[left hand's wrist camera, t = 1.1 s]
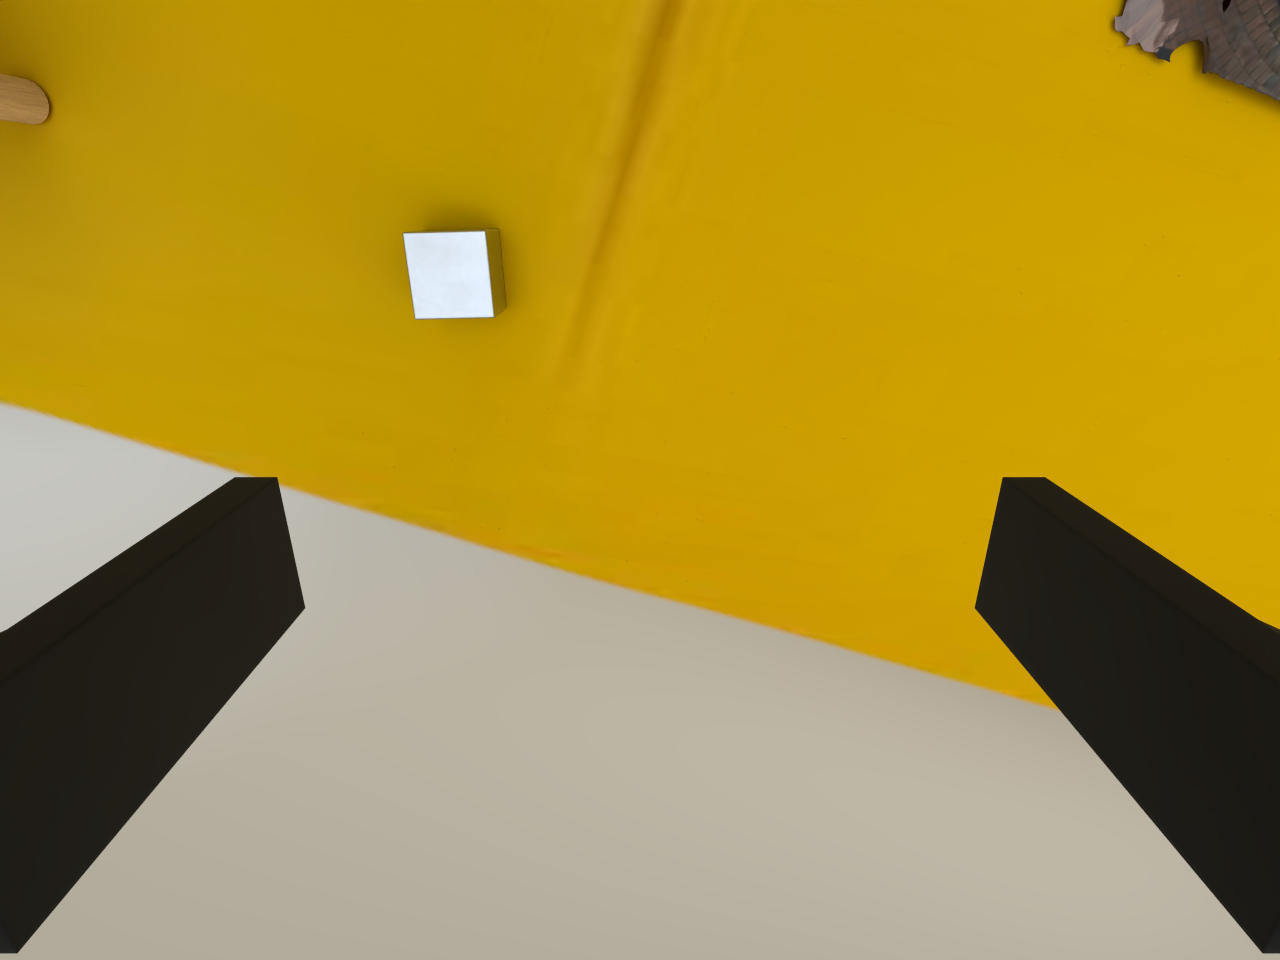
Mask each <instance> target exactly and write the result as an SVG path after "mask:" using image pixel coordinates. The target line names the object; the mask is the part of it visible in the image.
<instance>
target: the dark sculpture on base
mask: <svg viewBox="0 0 1280 960" xmlns="http://www.w3.org/2000/svg"><path fill="white" fill-rule="evenodd" d="M1222 2H1223V0H1127V2H1126V5H1125V9H1124V12H1123V15H1122V16H1120V17H1115V29H1116V30H1117V32H1119V31H1122V32H1123V33H1124V34H1125V35H1126V36H1128V37H1129V38H1130V39H1129V41H1128V43H1127V45H1131V44H1137V43H1139V42H1140V44H1141V46H1142V48H1143V50H1144V51H1147V52H1155V54H1156V56H1157V58H1159V59H1164V60H1166V61H1168V62H1170V55H1171V53H1172V52H1173V51H1174V50H1175V49H1176V48H1178V47H1179V46H1181V45H1182V44H1184V43H1187V42H1189V41H1192V40H1200V41H1201V42H1202V43H1203V46H1204V62H1203V70H1202V73H1206V72H1207V71H1208V70H1209V69H1210V74H1211V73H1212V72H1214V73H1218V74H1219V76H1220V77H1222V78H1224V79H1228V80H1229V81H1234V83H1236V84H1243V85H1244V86H1246V87H1248V88H1250V89H1251V88H1252V87H1253V88H1255V90H1256V91H1257V92H1258V91H1259V92H1261V93H1263V94H1268V95H1269V96H1271V97H1273V98H1274V99H1277V100H1279V101H1280V0H1231V2H1230V5H1229V7H1228V8H1227V10H1226V11H1225V12H1223V8H1222ZM1127 45H1126V46H1127Z"/></svg>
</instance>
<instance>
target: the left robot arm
mask: <svg viewBox="0 0 1280 960" xmlns="http://www.w3.org/2000/svg"><path fill="white" fill-rule="evenodd" d="M304 609H305V605H304V600H303V595H302V591H301V586H300V581H299V577H298V572H297V567H296V563H295V558H294V553H293V549H292V544H291V539H290V535H289V530H288V525H287V521H286V516H285V511H284V507H283V502H282V497H281V493H280V488H279V483H278V479H277V477H235V478H233V479H232V480H230V481H229V482H227V483H226V484H224V485H223V486H221V487H220V488H218V489H217V490H215V491H214V492H212V493H211V494H209V495H208V496H206V497H205V498H203V499H202V500H200V501H199V502H197V503H196V504H194V505H193V506H191V507H190V508H188V509H187V510H185V511H184V512H182V513H181V514H179V515H178V516H176V517H175V518H173V519H172V520H170V521H169V522H167V523H166V524H164V525H163V526H161V527H160V528H158V529H157V530H155V531H154V532H152V533H151V534H149V535H148V536H146V537H145V538H143V539H142V540H140V541H139V542H137V543H136V544H134V545H133V546H131V547H130V548H128V549H127V550H125V551H124V552H122V553H121V554H119V555H118V556H116V557H115V558H113V559H112V560H110V561H109V562H107V563H106V564H104V565H103V566H101V567H100V568H98V569H97V570H95V571H94V572H92V573H91V574H89V575H88V576H86V577H85V578H83V579H82V580H80V581H79V582H77V583H76V584H74V585H73V586H72V587H70V588H69V589H67V590H65V591H64V592H63V593H61V594H60V595H58V596H57V597H55V598H54V599H52V600H51V601H49V602H48V603H46V604H45V605H43V606H42V607H40V608H39V609H37V610H36V611H34V612H33V613H31V614H30V615H28V616H27V617H25V618H24V619H22V620H21V621H19V622H18V623H16V624H15V625H13V626H12V627H10V628H9V629H7V630H5V631H3V632H0V953H18V952H19V951H20V949H21V948H22V947H23V946H24V945H25V943H26V942H27V941H28V940H29V939H30V937H31V936H32V935H33V934H34V933H35V931H36V930H37V929H38V928H39V927H40V925H41V924H42V923H43V922H44V921H45V919H46V918H47V917H48V916H49V915H50V913H51V912H52V911H53V910H54V909H55V908H56V906H57V905H58V904H59V903H60V902H61V900H62V899H63V898H64V897H65V896H66V894H67V893H68V892H69V891H70V890H71V888H72V887H73V886H74V885H75V884H76V882H77V881H78V880H79V879H80V877H81V876H82V875H83V874H84V873H85V871H86V870H87V869H88V868H89V867H90V866H91V864H92V863H93V862H94V861H95V859H96V858H97V857H98V856H99V855H100V854H101V852H102V851H103V850H104V849H105V848H106V846H107V845H108V844H109V843H110V842H111V840H112V839H113V838H114V837H115V836H116V834H117V833H118V832H119V831H120V830H121V828H122V827H123V826H124V825H125V824H126V822H127V821H128V820H129V819H130V817H131V816H132V815H133V814H134V813H135V812H136V810H137V809H138V808H139V807H140V806H141V804H142V803H143V802H144V801H145V800H146V798H147V797H148V796H149V795H150V793H151V792H152V791H153V790H154V789H155V788H156V786H157V785H158V784H159V783H160V782H161V780H162V779H163V778H164V777H165V776H166V774H167V773H168V772H169V771H170V770H171V768H172V767H173V766H174V765H175V764H176V762H177V761H178V760H179V759H180V758H181V756H182V755H183V754H184V753H185V752H186V750H187V749H188V748H189V747H190V746H191V744H192V743H193V742H194V741H195V740H196V738H197V737H198V736H199V735H200V734H201V732H202V731H203V730H204V729H205V728H206V726H207V725H208V724H209V723H210V722H211V720H212V719H213V718H214V717H215V716H216V714H217V713H218V712H219V711H220V710H221V708H222V707H223V706H224V705H225V704H226V702H227V701H228V700H229V699H230V698H231V696H232V695H233V694H234V693H235V692H236V690H237V689H238V688H239V687H240V686H241V684H242V683H243V682H244V681H245V680H246V678H247V677H248V676H249V675H250V674H251V672H252V671H253V670H254V669H255V668H256V666H257V665H258V664H259V663H260V662H261V660H262V659H263V658H264V657H265V656H266V654H267V653H268V652H269V651H270V650H271V648H272V647H273V646H274V645H275V644H276V642H277V641H278V640H279V639H280V638H281V636H282V635H283V634H284V633H285V632H286V630H287V629H288V628H289V627H290V626H291V624H292V623H293V622H294V621H295V620H296V618H297V617H298V616H299V615H300V614H301V612H302V611H303V610H304ZM975 609H976V610H977V611H978V612H979V614H980V615H981V616H982V617H983V618H984V620H985V621H986V622H987V623H988V624H989V626H990V627H991V628H992V629H993V630H994V632H995V633H996V634H997V635H998V636H999V638H1000V639H1001V640H1002V641H1003V642H1004V644H1005V645H1006V646H1007V647H1008V648H1009V650H1010V651H1011V652H1012V653H1013V654H1014V656H1015V657H1016V658H1017V659H1018V660H1019V662H1020V663H1021V664H1022V665H1023V666H1024V668H1025V669H1026V670H1027V671H1028V672H1029V674H1030V675H1031V676H1032V677H1033V678H1034V680H1035V681H1036V682H1037V683H1038V684H1039V686H1040V687H1041V688H1042V689H1043V690H1044V692H1045V693H1046V694H1047V695H1048V696H1049V698H1050V699H1051V700H1052V701H1053V702H1054V704H1055V705H1056V706H1057V707H1058V708H1059V710H1060V711H1061V712H1062V713H1063V714H1064V716H1065V717H1066V718H1067V719H1068V720H1069V722H1070V723H1071V724H1072V725H1073V726H1074V728H1075V729H1076V730H1077V731H1078V732H1079V734H1080V735H1081V736H1082V737H1083V738H1084V740H1085V741H1086V742H1087V743H1088V744H1089V746H1090V747H1091V748H1092V749H1093V750H1094V752H1095V753H1096V754H1097V755H1098V756H1099V757H1100V759H1101V760H1102V761H1103V762H1104V764H1105V765H1106V766H1107V767H1108V768H1109V770H1110V771H1111V772H1112V773H1113V774H1114V776H1115V777H1116V778H1117V779H1118V780H1119V782H1120V783H1121V784H1122V785H1123V786H1124V788H1125V789H1126V790H1127V791H1128V792H1129V794H1130V795H1131V796H1132V797H1133V798H1134V800H1135V801H1136V802H1137V803H1138V804H1139V806H1140V807H1141V808H1142V809H1143V810H1144V812H1145V813H1146V814H1147V815H1148V816H1149V818H1150V819H1151V820H1152V821H1153V822H1154V824H1155V825H1156V826H1157V827H1158V828H1159V830H1160V831H1161V832H1162V833H1163V834H1164V836H1165V837H1166V838H1167V839H1168V840H1169V842H1170V843H1171V844H1172V845H1173V846H1174V848H1175V849H1176V850H1177V851H1178V852H1179V854H1180V855H1181V856H1182V857H1183V858H1184V859H1185V861H1186V862H1187V863H1188V864H1189V866H1190V867H1191V868H1192V869H1193V870H1194V872H1195V873H1196V874H1197V875H1198V876H1199V878H1200V879H1201V880H1202V881H1203V882H1204V884H1205V885H1206V886H1207V887H1208V888H1209V890H1210V891H1211V892H1212V893H1213V894H1214V895H1215V897H1216V898H1217V899H1218V900H1219V902H1220V903H1221V904H1222V905H1223V906H1224V907H1225V909H1226V910H1227V911H1228V912H1229V914H1230V915H1231V916H1232V917H1233V918H1234V919H1235V921H1236V922H1237V923H1238V924H1239V925H1240V927H1241V928H1242V929H1243V930H1244V931H1245V933H1246V934H1247V935H1248V936H1249V937H1250V939H1251V940H1252V941H1253V942H1254V943H1255V945H1256V946H1257V947H1258V948H1259V949H1260V951H1261V952H1262V953H1280V629H1278V628H1275V627H1273V626H1271V625H1269V624H1267V623H1264V622H1262V621H1260V620H1258V619H1256V618H1255V617H1253V616H1252V615H1250V614H1249V613H1247V612H1246V611H1244V610H1243V609H1241V608H1240V607H1238V606H1237V605H1235V604H1234V603H1232V602H1231V601H1229V600H1228V599H1226V598H1225V597H1223V596H1222V595H1220V594H1219V593H1218V592H1216V591H1215V590H1213V589H1212V588H1210V587H1209V586H1207V585H1206V584H1204V583H1203V582H1201V581H1200V580H1198V579H1197V578H1195V577H1194V576H1192V575H1191V574H1189V573H1188V572H1186V571H1185V570H1183V569H1182V568H1180V567H1179V566H1177V565H1176V564H1174V563H1173V562H1171V561H1170V560H1168V559H1167V558H1165V557H1164V556H1162V555H1161V554H1159V553H1158V552H1156V551H1155V550H1153V549H1152V548H1150V547H1149V546H1147V545H1146V544H1144V543H1143V542H1141V541H1140V540H1138V539H1137V538H1135V537H1134V536H1132V535H1131V534H1129V533H1128V532H1126V531H1125V530H1123V529H1122V528H1120V527H1119V526H1117V525H1116V524H1114V523H1113V522H1111V521H1110V520H1108V519H1107V518H1105V517H1104V516H1102V515H1101V514H1099V513H1098V512H1096V511H1095V510H1093V509H1092V508H1090V507H1089V506H1087V505H1086V504H1084V503H1083V502H1081V501H1080V500H1078V499H1077V498H1075V497H1074V496H1072V495H1071V494H1069V493H1068V492H1066V491H1065V490H1063V489H1062V488H1060V487H1059V486H1057V485H1056V484H1054V483H1053V482H1051V481H1050V480H1048V479H1047V478H1045V477H1003V479H1002V483H1001V488H1000V493H999V497H998V502H997V507H996V511H995V516H994V521H993V525H992V530H991V535H990V539H989V544H988V549H987V553H986V558H985V563H984V567H983V572H982V577H981V581H980V586H979V591H978V595H977V600H976V605H975Z"/></svg>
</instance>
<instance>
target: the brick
mask: <svg viewBox="0 0 1280 960" xmlns="http://www.w3.org/2000/svg"><path fill="white" fill-rule="evenodd" d="M403 240H404V247H405V254H406V261H407V268H408V275H409V282H410V289H411V296H412V303H413V310H414V316H415V319H416V320H420V319H461V318H494V317H495V316H497V315H498V314H499V313H501V312H502V311H503V310H505V309H506V297H505V287H504V276H503V266H502V255H501V245H500V234H499V229H462V230H424V231H413V232H404V233H403Z"/></svg>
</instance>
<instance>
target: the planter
mask: <svg viewBox="0 0 1280 960" xmlns="http://www.w3.org/2000/svg"><path fill="white" fill-rule="evenodd" d="M48 113H49V103H48V100H47V97H46V95H45V94H44V92H43V91H42V89H41V88H40V87H39V86H38V85H36V84H35V83H34V82H32V81H30V80H27V79H24V78H19V77H14V76H10V75H5V74H0V120H5V121H12V122H20V123H27V124H39V123H42V122H43V121H44V120H45V119H46V118H47V116H48Z"/></svg>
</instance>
